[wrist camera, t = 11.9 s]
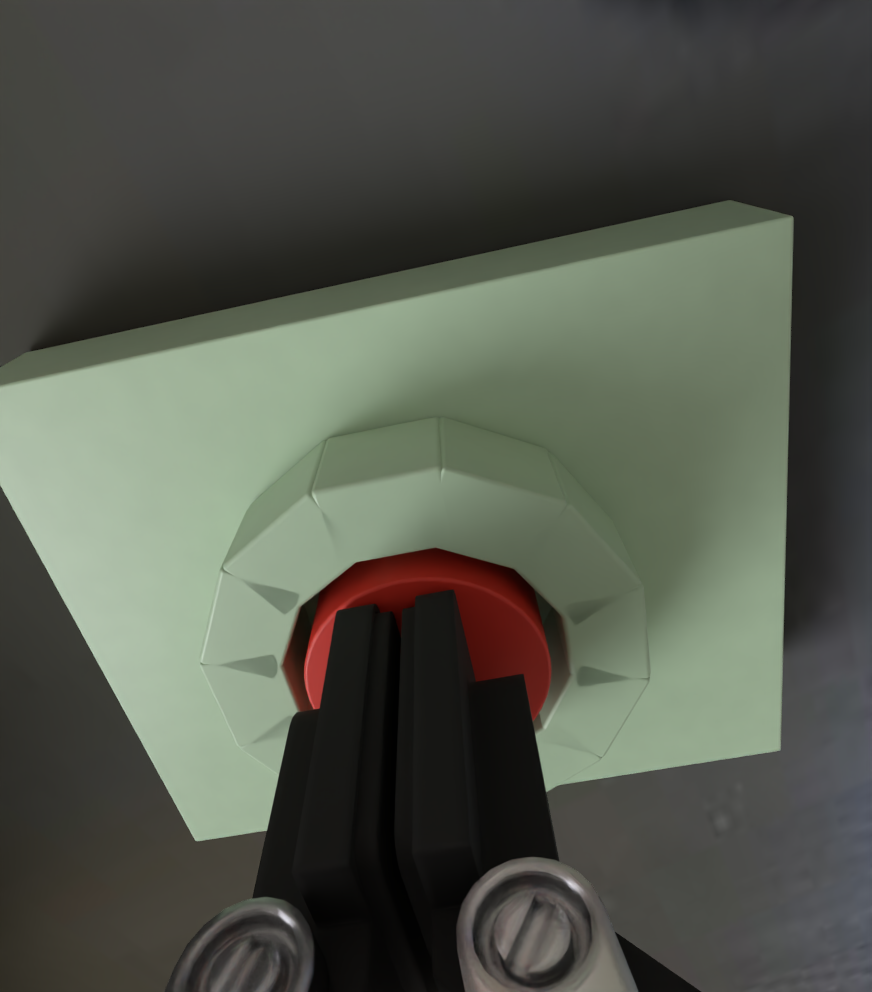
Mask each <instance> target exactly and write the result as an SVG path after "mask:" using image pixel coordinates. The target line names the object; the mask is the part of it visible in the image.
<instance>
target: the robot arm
mask: <svg viewBox="0 0 872 992" xmlns="http://www.w3.org/2000/svg"><path fill="white" fill-rule="evenodd" d="M164 992H701V991H699V990H698V989H696V988H695V987H694V986H692V985H691V984H689V983H688V982H686V981H685V980H683V979H682V978H681V977H679V976H678V975H676V974H675V973H673V972H672V971H671V970H669V969H668V968H666V967H665V966H663V965H662V964H660V963H659V962H658V961H656V960H655V959H653V958H652V957H650V956H649V955H648V954H646V953H645V952H643V951H642V950H640V949H639V948H637V947H636V946H635V945H633V944H632V943H630V942H629V941H627V940H626V939H625V938H623V937H622V936H620V935H619V934H617V933H616V932H615V931H614V929H613V926H612V924H611V921H610V919H609V916H608V914H607V911H606V909H605V906H604V904H603V902H602V901H601V899H600V897H599V896H598V894H597V892H596V891H595V889H594V887H593V885H592V884H591V883H590V882H588V881H587V880H586V879H585V878H584V877H583V876H582V875H581V874H580V873H579V872H577V871H576V870H575V869H573V868H571V867H569V866H567V865H565V864H563V863H561V862H559V858H558V852H557V847H556V842H555V836H554V831H553V826H552V820H551V815H550V810H549V804H548V799H547V794H546V788H545V783H544V778H543V772H542V767H541V762H540V756H539V751H538V746H537V741H536V735H535V730H534V725H533V720H532V715H531V710H530V704H529V699H528V694H527V689H526V684H525V679H524V674H518V675H512V676H506V677H501V678H495V679H489V680H483V681H477V682H476V679H475V675H474V671H473V666H472V662H471V658H470V654H469V649H468V645H467V641H466V637H465V632H464V628H463V624H462V620H461V616H460V611H459V607H458V603H457V599H456V595H455V591H454V590H453V589H452V590H446V591H441V592H435V593H430V594H424V595H419V596H416V597H415V607H410V608H404V609H403V610H402V626H401V636H400V633H399V630H398V626H397V623H396V619H395V616H394V614H393V612H392V611H388V612H382V613H380V610H379V608H378V606H377V604H369V605H364V606H358V607H353V608H347V609H342V610H338V611H337V612H336V615H335V621H334V626H333V632H332V638H331V644H330V650H329V656H328V662H327V668H326V673H325V679H324V685H323V691H322V697H321V703H320V708H319V709H314V710H308V711H302V712H296V713H295V715H294V716H293V717H292V720H291V723H290V726H289V730H288V735H287V740H286V744H285V749H284V754H283V758H282V763H281V768H280V772H279V777H278V782H277V786H276V791H275V796H274V800H273V805H272V810H271V814H270V819H269V824H268V828H267V833H266V838H265V842H264V847H263V852H262V856H261V861H260V865H259V870H258V875H257V879H256V884H255V889H254V893H253V898H252V899H248V900H244V901H242V902H240V903H237V904H235V905H233V906H231V907H229V908H226V909H224V910H223V911H222V912H220V913H219V914H218V915H216V916H215V917H214V918H212V919H211V920H210V921H208V922H207V923H206V924H205V925H204V926H203V927H202V928H201V929H200V930H199V931H198V933H197V934H196V935H195V936H194V937H193V938H192V939H191V941H190V942H189V943H188V944H187V946H186V948H185V949H184V951H183V953H182V955H181V957H180V958H179V960H178V962H177V964H176V966H175V967H174V970H173V972H172V975H171V977H170V979H169V982H168V984H167V987H166V989H165V991H164Z"/></svg>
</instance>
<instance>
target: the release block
mask: <svg viewBox="0 0 872 992" xmlns="http://www.w3.org/2000/svg"><path fill="white" fill-rule="evenodd" d="M793 227H794V218H793V216H790V215H786V214H782V213H778V212H775V211H771V210H767V209H763V208H759V207H755V206H751V205H747V204H744V203H740V202H736V201H732V200H727V201H723V202H718V203H713V204H709V205H704V206H699V207H695V208H690V209H686V210H681V211H676V212H672V213H667V214H663V215H658V216H653V217H649V218H644V219H640V220H635V221H630V222H626V223H621V224H617V225H612V226H607V227H603V228H598V229H593V230H589V231H584V232H580V233H575V234H570V235H566V236H561V237H557V238H552V239H547V240H543V241H538V242H534V243H529V244H524V245H520V246H515V247H511V248H506V249H501V250H497V251H492V252H487V253H483V254H478V255H474V256H469V257H464V258H460V259H455V260H451V261H446V262H441V263H437V264H432V265H428V266H423V267H418V268H414V269H409V270H404V271H400V272H395V273H391V274H386V275H381V276H377V277H372V278H368V279H363V280H358V281H354V282H349V283H345V284H340V285H335V286H331V287H326V288H322V289H317V290H312V291H308V292H303V293H298V294H294V295H289V296H285V297H280V298H275V299H271V300H266V301H262V302H257V303H252V304H248V305H243V306H239V307H234V308H229V309H225V310H220V311H216V312H211V313H206V314H202V315H197V316H192V317H188V318H183V319H179V320H174V321H169V322H165V323H160V324H156V325H151V326H146V327H142V328H137V329H133V330H128V331H123V332H119V333H114V334H109V335H105V336H100V337H96V338H91V339H86V340H82V341H77V342H73V343H68V344H63V345H59V346H54V347H50V348H45V349H40V350H36V351H31V352H27V353H24V354H23V355H21V356H19V357H17V358H16V359H14V360H12V361H11V362H9V363H7V364H5V365H4V366H2V367H0V486H1V487H2V489H3V491H4V493H5V495H6V496H7V498H8V500H9V502H10V504H11V506H12V507H13V509H14V511H15V513H16V515H17V516H18V518H19V520H20V522H21V524H22V526H23V527H24V529H25V531H26V533H27V535H28V536H29V538H30V540H31V542H32V544H33V546H34V547H35V549H36V551H37V553H38V555H39V557H40V558H41V560H42V562H43V564H44V566H45V567H46V569H47V571H48V573H49V575H50V577H51V578H52V580H53V582H54V584H55V586H56V587H57V589H58V591H59V593H60V595H61V597H62V598H63V600H64V602H65V604H66V606H67V608H68V609H69V611H70V613H71V615H72V617H73V618H74V620H75V622H76V624H77V626H78V628H79V629H80V631H81V633H82V635H83V637H84V638H85V640H86V642H87V644H88V646H89V648H90V649H91V651H92V653H93V655H94V657H95V658H96V660H97V662H98V664H99V666H100V668H101V669H102V671H103V673H104V675H105V677H106V679H107V680H108V682H109V684H110V686H111V688H112V689H113V691H114V693H115V695H116V697H117V699H118V700H119V702H120V704H121V706H122V708H123V709H124V711H125V713H126V715H127V717H128V719H129V720H130V722H131V724H132V726H133V728H134V729H135V731H136V733H137V735H138V737H139V739H140V740H141V742H142V744H143V746H144V748H145V750H146V751H147V753H148V755H149V757H150V759H151V760H152V762H153V764H154V766H155V768H156V770H157V771H158V773H159V775H160V777H161V779H162V780H163V782H164V784H165V786H166V788H167V790H168V791H169V793H170V795H171V797H172V799H173V801H174V802H175V804H176V806H177V808H178V810H179V811H180V813H181V815H182V817H183V819H184V821H185V822H186V824H187V826H188V828H189V830H190V831H191V833H192V835H193V837H194V839H195V840H196V841H202V840H208V839H215V838H221V837H228V836H234V835H241V834H247V833H253V832H260V831H266V830H267V828H268V824H269V819H270V814H271V810H272V805H273V800H274V796H275V791H276V786H277V782H278V777H279V772H280V768H281V763H282V758H283V754H284V749H285V744H286V740H287V735H288V730H289V726H290V723H291V720H292V717H293V716H294V715H295V713H296V712H302V711H308V710H314V709H313V707H312V705H311V703H310V701H309V698H308V694H307V691H306V687H305V680H304V663H305V658H306V653H307V649H308V644H309V639H310V635H311V630H312V626H313V621H314V617H315V612H316V607H317V603H318V598H319V594H320V591H321V590H322V589H323V588H324V587H326V586H327V585H328V584H329V583H331V582H332V581H333V580H335V579H336V578H337V577H338V576H340V575H341V574H342V573H343V572H345V571H346V570H347V569H348V568H350V567H351V566H352V565H353V564H355V563H356V562H360V561H366V560H371V559H377V558H382V557H388V556H393V555H398V554H404V553H409V552H415V551H420V550H425V549H431V548H439V549H443V550H447V551H450V552H454V553H458V554H461V555H465V556H468V557H472V558H476V559H479V560H483V561H487V562H490V563H494V564H498V565H501V566H505V567H509V568H512V569H514V570H515V571H516V572H517V573H519V574H520V575H521V576H522V577H523V578H524V579H525V580H526V581H527V582H528V583H529V584H530V585H531V586H532V587H533V588H534V590H535V594H536V599H537V603H538V607H539V611H540V615H541V620H542V624H543V628H544V632H545V636H546V641H547V645H548V649H549V653H550V657H551V669H552V672H551V683H550V687H549V691H548V695H547V698H546V700H545V702H544V704H543V707H542V709H541V710H540V712H539V714H538V715H537V717H536V718H535V720H534V721H533V725H534V730H535V735H536V741H537V746H538V751H539V756H540V762H541V767H542V772H543V778H544V783H545V788H546V792H548V791H549V790H551V789H553V788H554V787H556V786H558V785H562V784H568V783H575V782H581V781H587V780H594V779H600V778H607V777H613V776H619V775H626V774H632V773H639V772H645V771H652V770H658V769H664V768H671V767H677V766H684V765H690V764H697V763H703V762H709V761H716V760H722V759H729V758H735V757H741V756H748V755H754V754H761V753H767V752H774V751H779V750H781V720H782V679H783V637H784V596H785V555H786V514H787V473H788V432H789V391H790V350H791V309H792V268H793Z"/></svg>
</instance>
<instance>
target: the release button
mask: <svg viewBox="0 0 872 992" xmlns="http://www.w3.org/2000/svg"><path fill="white" fill-rule="evenodd" d="M452 589H453V590H454V591H455V595H456V599H457V603H458V607H459V611H460V616H461V620H462V624H463V628H464V632H465V637H466V641H467V645H468V649H469V654H470V658H471V662H472V666H473V671H474V675H475V679H476V682H477V681H483V680H489V679H495V678H501V677H506V676H512V675H518V674H524V679H525V684H526V689H527V694H528V699H529V704H530V710H531V715H532V720H533V721H534V720H535V718H536V717H537V715H538V714H539V712H540V710H541V709H542V707H543V704H544V702H545V700H546V698H547V695H548V691H549V687H550V683H551V672H552V669H551V657H550V653H549V649H548V645H547V641H546V636H545V632H544V628H543V624H542V620H541V615H540V611H539V607H538V603H537V599H536V594H535V590H534V588H533V587H532V586H531V585H530V584H529V583H528V582H527V581H526V580H525V579H524V578H523V577H522V576H521V575H520V574H519V573H517V572H516V571H515V570H514V569H512V568H509V567H505V566H501V565H498V564H494V563H490V562H487V561H483V560H479V559H476V558H472V557H468V556H465V555H461V554H458V553H454V552H450V551H447V550H443V549H439V548H431V549H425V550H420V551H415V552H409V553H404V554H398V555H393V556H388V557H382V558H377V559H371V560H366V561H360V562H356V563H355V564H353V565H352V566H351V567H350V568H348V569H347V570H346V571H345V572H343V573H342V574H341V575H340V576H338V577H337V578H336V579H335V580H333V581H332V582H331V583H329V584H328V585H327V586H326V587H324V588H323V589H322V590H321V591H320V594H319V598H318V603H317V607H316V612H315V617H314V621H313V626H312V630H311V635H310V639H309V644H308V649H307V653H306V658H305V663H304V680H305V687H306V691H307V694H308V698H309V701H310V703H311V705H312V707H313V709H319V708H320V703H321V697H322V691H323V685H324V679H325V673H326V668H327V662H328V656H329V650H330V644H331V638H332V632H333V626H334V621H335V615H336V612H337V611H338V610H342V609H347V608H353V607H358V606H364V605H369V604H377V606H378V608H379V610H380V613H382V612H388V611H392V612H393V614H394V616H395V619H396V623H397V626H398V630H399V633H400V636H401V626H402V610H403V609H404V608H410V607H415V597H416V596H419V595H424V594H430V593H435V592H441V591H446V590H452Z"/></svg>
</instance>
